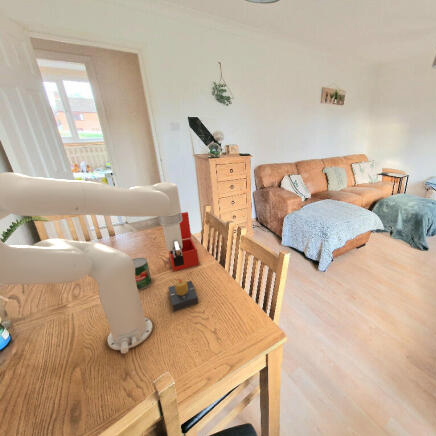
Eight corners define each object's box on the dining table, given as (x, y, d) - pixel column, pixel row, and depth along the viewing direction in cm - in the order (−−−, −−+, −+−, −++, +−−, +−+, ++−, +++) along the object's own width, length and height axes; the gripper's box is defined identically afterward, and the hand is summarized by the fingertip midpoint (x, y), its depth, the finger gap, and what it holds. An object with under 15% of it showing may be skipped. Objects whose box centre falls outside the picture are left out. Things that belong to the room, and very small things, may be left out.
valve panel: (198, 303, 94) (197, 296, 93) (173, 311, 90) (172, 304, 89) (191, 286, 104) (191, 280, 103) (169, 292, 99) (168, 286, 98)
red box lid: (187, 212, 120) (185, 208, 124) (162, 216, 114) (160, 212, 118) (191, 237, 125) (189, 233, 130) (166, 242, 119) (165, 237, 124)
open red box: (198, 264, 119) (197, 249, 115) (173, 271, 113) (170, 255, 109) (193, 252, 129) (191, 238, 126) (169, 257, 123) (166, 243, 120)
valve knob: (189, 293, 95) (187, 283, 93) (177, 297, 93) (175, 287, 91) (187, 287, 98) (185, 277, 97) (175, 290, 96) (173, 280, 94)
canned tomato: (146, 276, 109) (141, 255, 104) (155, 282, 105) (150, 261, 100) (127, 285, 103) (121, 263, 98) (136, 292, 99) (130, 270, 94)
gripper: (155, 211, 89) (163, 251, 95) (161, 229, 76) (169, 273, 82) (177, 208, 93) (183, 246, 99) (186, 224, 79) (192, 267, 86)
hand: (177, 258), depth 91 cm, fingers open, 9 cm apart
